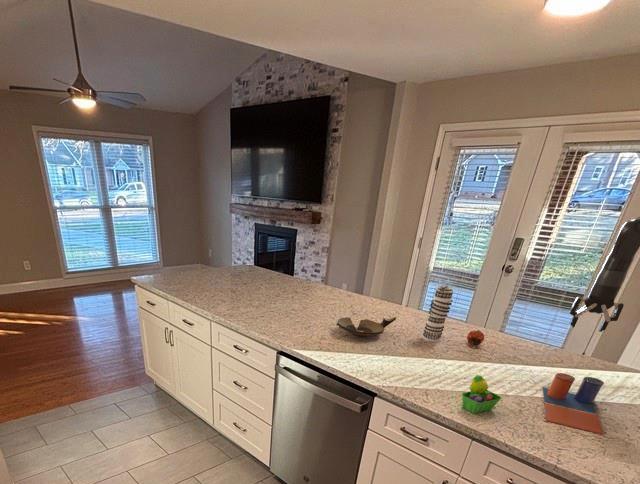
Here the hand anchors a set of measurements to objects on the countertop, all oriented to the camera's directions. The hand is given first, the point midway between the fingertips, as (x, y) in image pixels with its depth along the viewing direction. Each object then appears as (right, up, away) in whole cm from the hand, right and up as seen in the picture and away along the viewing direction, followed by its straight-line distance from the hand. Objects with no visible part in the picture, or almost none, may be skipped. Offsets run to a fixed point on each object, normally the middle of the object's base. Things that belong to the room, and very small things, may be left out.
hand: (586, 329), depth 150 cm
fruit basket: (-43, -29, -4) cm, 52 cm away
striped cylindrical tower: (-34, +8, +54) cm, 64 cm away
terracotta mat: (-12, -33, -8) cm, 36 cm away
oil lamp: (-66, +11, +56) cm, 87 cm away
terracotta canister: (-7, -24, +5) cm, 26 cm away
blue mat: (-4, -26, +3) cm, 27 cm away
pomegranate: (-16, +4, +49) cm, 51 cm away
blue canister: (+1, -26, +3) cm, 26 cm away
